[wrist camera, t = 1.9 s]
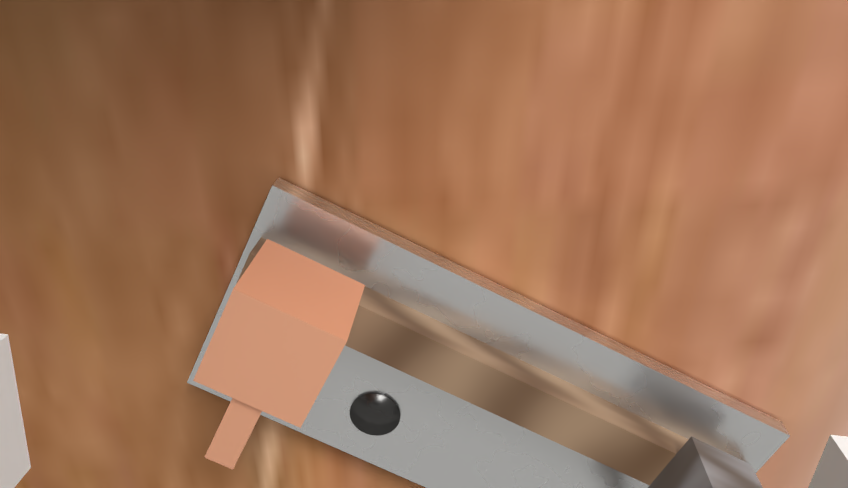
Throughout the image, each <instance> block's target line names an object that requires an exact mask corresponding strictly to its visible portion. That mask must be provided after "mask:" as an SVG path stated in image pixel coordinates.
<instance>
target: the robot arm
mask: <svg viewBox="0 0 848 488" xmlns="http://www.w3.org/2000/svg"><path fill="white" fill-rule="evenodd" d="M30 468H31V465H30V459H29V453H28V448H27V442H26V436H25V430H24V424H23V418H22V413H21V407H20V401H19V395H18V389H17V384H16V378H15V372H14V366H13V360H12V354H11V349H10V343H9V337H8V334H0V488H14V487H15V486H16V485H17V484H18V483H19V481H20V480H21V479H22V478H23V476H24V475H25V474H26V473H27V472H28V470H29V469H30ZM808 488H848V437H845V436H837V435H830V437H829V439H828V442H827V444H826V446H825V449H824V451H823V454H822V456H821V458H820V461H819V463H818V466H817V468H816V470H815V473H814V475H813V478H812V480H811V482H810V485H809V487H808Z"/></svg>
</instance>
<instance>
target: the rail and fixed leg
mask: <svg viewBox="0 0 848 488" xmlns="http://www.w3.org/2000/svg"><path fill="white" fill-rule="evenodd" d="M265 241H266V239H264V238H262V237H261V238H260V239H259V241H258V242H257V244H256V245H255V246H254V248H253V249H252V251H251V252H250V254H249V256H248V258H247V260H246V263H245V265H244V267H243V269H242V272H241V274H240V276H239V279H240V278H241V277H242V275H243V274H244V272H245V271H246V269H247V268H248V266H249V265H250V263H251V262H252V260H253V259H254V257H255V256H256V255H257V253H258V252H259V250H260V249H261V247H262V246H263V244H264V243H265ZM239 279H238V281H239ZM238 281H237V282H238ZM236 284H237V283H236ZM345 346H347V347H350V348H352V349H354V350H356V351H358V352H360V353H363V354H365V355H367V356H369V357H371V358H374V359H376V360H378V361H380V362H382V363H384V364H387V365H389V366H391V367H393V368H395V369H397V370H400V371H402V372H404V373H406V374H408V375H410V376H413V377H415V378H417V379H419V380H421V381H424V382H426V383H428V384H430V385H432V386H434V387H437V388H439V389H441V390H443V391H445V392H447V393H450V394H452V395H454V396H456V397H458V398H460V399H463V400H465V401H467V402H469V403H471V404H474V405H476V406H478V407H480V408H482V409H484V410H487V411H489V412H491V413H493V414H495V415H497V416H500V417H502V418H504V419H506V420H508V421H510V422H513V423H515V424H517V425H519V426H521V427H524V428H526V429H528V430H530V431H532V432H534V433H537V434H539V435H541V436H543V437H545V438H547V439H550V440H552V441H554V442H556V443H558V444H560V445H563V446H565V447H567V448H569V449H571V450H574V451H576V452H578V453H580V454H582V455H584V456H587V457H589V458H591V459H593V460H595V461H597V462H600V463H602V464H604V465H606V466H608V467H610V468H613V469H615V470H617V471H619V472H621V473H624V474H626V475H628V476H630V477H632V478H634V479H637V480H639V481H641V482H643V483H645V484H647V485H650V486H649V487H648V488H763V487H762V485H761V483H760V481H759V479H758V477H757V475H756V473H755V471H754V470H753V468H752V466H751V464H749V463H747V462H745V461H743V460H740V459H738V458H736V457H734V456H732V455H730V454H728V453H726V452H724V451H721V450H719V449H717V448H715V447H713V446H711V445H709V444H707V443H705V442H702V441H700V440H698V439H696V438H694V437H692V436H691V437H690V438H689V439H687V438H685V437H683V436H681V435H679V434H677V433H674V432H672V431H670V430H668V429H666V428H664V427H662V426H660V425H658V424H655V423H653V422H651V421H649V420H647V419H645V418H643V417H641V416H639V415H636V414H634V413H632V412H630V411H628V410H626V409H624V408H622V407H620V406H617V405H615V404H613V403H611V402H609V401H607V400H605V399H603V398H600V397H598V396H596V395H594V394H592V393H590V392H588V391H586V390H584V389H581V388H579V387H577V386H575V385H573V384H571V383H569V382H567V381H565V380H562V379H560V378H558V377H556V376H554V375H552V374H550V373H548V372H546V371H543V370H541V369H539V368H537V367H535V366H533V365H531V364H529V363H526V362H524V361H522V360H520V359H518V358H516V357H514V356H512V355H510V354H507V353H505V352H503V351H501V350H499V349H497V348H495V347H493V346H491V345H488V344H486V343H484V342H482V341H480V340H478V339H476V338H474V337H472V336H469V335H467V334H465V333H463V332H461V331H459V330H457V329H455V328H452V327H450V326H448V325H446V324H444V323H442V322H440V321H438V320H436V319H433V318H431V317H429V316H427V315H425V314H423V313H421V312H419V311H417V310H414V309H412V308H410V307H408V306H406V305H404V304H402V303H400V302H398V301H395V300H393V299H391V298H389V297H387V296H385V295H383V294H381V293H378V292H376V291H374V290H372V289H370V288H368V287H366V286H365V287H364V290H363V293H362V296H361V300H360V303H359V306H358V309H357V312H356V315H355V318H354V321H353V324H352V328H351V331H350V334H349V337H348V340H347V342H346V344H345Z"/></svg>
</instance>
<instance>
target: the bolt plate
mask: <svg viewBox="0 0 848 488" xmlns="http://www.w3.org/2000/svg"><path fill="white" fill-rule="evenodd" d="M261 237H262V238H264V239H266V240H267V239H269V240H271V241H273V242H275V243H277V244H280V245H282V246H284V247H286V248H288V249H290V250H292V251H294V252H296V253H299V254H301V255H303V256H305V257H307V258H309V259H311V260H313V261H315V262H318V263H320V264H322V265H324V266H326V267H328V268H330V269H332V270H334V271H337V272H339V273H341V274H343V275H345V276H347V277H349V278H351V279H354V280H356V281H358V282H360V283H362V284H364V285H365V286H366V287H368V288H370V289H372V290H374V291H376V292H378V293H381V294H383V295H385V296H387V297H389V298H391V299H393V300H395V301H398V302H400V303H402V304H404V305H406V306H408V307H410V308H412V309H414V310H417V311H419V312H421V313H423V314H425V315H427V316H429V317H431V318H433V319H436V320H438V321H440V322H442V323H444V324H446V325H448V326H450V327H452V328H455V329H457V330H459V331H461V332H463V333H465V334H467V335H469V336H472V337H474V338H476V339H478V340H480V341H482V342H484V343H486V344H488V345H491V346H493V347H495V348H497V349H499V350H501V351H503V352H505V353H507V354H510V355H512V356H514V357H516V358H518V359H520V360H522V361H524V362H526V363H529V364H531V365H533V366H535V367H537V368H539V369H541V370H543V371H546V372H548V373H550V374H552V375H554V376H556V377H558V378H560V379H562V380H565V381H567V382H569V383H571V384H573V385H575V386H577V387H579V388H581V389H584V390H586V391H588V392H590V393H592V394H594V395H596V396H598V397H600V398H603V399H605V400H607V401H609V402H611V403H613V404H615V405H617V406H620V407H622V408H624V409H626V410H628V411H630V412H632V413H634V414H636V415H639V416H641V417H643V418H645V419H647V420H649V421H651V422H653V423H655V424H658V425H660V426H662V427H664V428H666V429H668V430H670V431H672V432H674V433H677V434H679V435H681V436H683V437H685V438H687V439H689V438H690V437H691V436H692V437H694V438H696V439H698V440H700V441H702V442H705V443H707V444H709V445H711V446H713V447H715V448H717V449H719V450H721V451H724V452H726V453H728V454H730V455H732V456H734V457H736V458H738V459H740V460H743V461H745V462H747V463H749V464H751V466H752V468H753V470H754V471H755V473H756V472H757V471H758V470H759V469H760V468H761V467H762V466H763V465H764V464H765V462H766V461H767V460H768V459H769V458H770V457H771V456H772V455H773V454H774V453H775V452H776V451H777V450H778V448H779V447H780V446H781V445H782V444H783V443H784V442H785V441H786V440H787V439H788V438H789V437H790V435H789V433H788V431H787V430H786V428H785V427H784V425H783V423H782V422H781V421H779V420H777V419H775V418H773V417H771V416H769V415H767V414H765V413H763V412H761V411H759V410H757V409H755V408H753V407H750V406H748V405H746V404H744V403H742V402H740V401H738V400H736V399H734V398H732V397H730V396H728V395H726V394H724V393H722V392H720V391H718V390H715V389H713V388H711V387H709V386H707V385H705V384H703V383H701V382H699V381H697V380H695V379H693V378H691V377H689V376H687V375H685V374H683V373H680V372H678V371H676V370H674V369H672V368H670V367H668V366H666V365H664V364H662V363H660V362H658V361H656V360H654V359H652V358H650V357H648V356H645V355H643V354H641V353H639V352H637V351H635V350H633V349H631V348H629V347H627V346H625V345H623V344H621V343H619V342H617V341H615V340H613V339H610V338H608V337H606V336H604V335H602V334H600V333H598V332H596V331H594V330H592V329H590V328H588V327H586V326H584V325H582V324H580V323H578V322H575V321H573V320H571V319H569V318H567V317H565V316H563V315H561V314H559V313H557V312H555V311H553V310H551V309H549V308H547V307H545V306H543V305H540V304H538V303H536V302H534V301H532V300H530V299H528V298H526V297H524V296H522V295H520V294H518V293H516V292H514V291H512V290H510V289H508V288H505V287H503V286H501V285H499V284H497V283H495V282H493V281H491V280H489V279H487V278H485V277H483V276H481V275H479V274H477V273H475V272H473V271H470V270H468V269H466V268H464V267H462V266H460V265H458V264H456V263H454V262H452V261H450V260H448V259H446V258H444V257H442V256H440V255H438V254H435V253H433V252H431V251H429V250H427V249H425V248H423V247H421V246H419V245H417V244H415V243H413V242H411V241H409V240H407V239H405V238H403V237H400V236H398V235H396V234H394V233H392V232H390V231H388V230H386V229H384V228H382V227H380V226H378V225H376V224H374V223H372V222H370V221H368V220H365V219H363V218H361V217H359V216H357V215H355V214H353V213H351V212H349V211H347V210H345V209H343V208H341V207H339V206H337V205H335V204H333V203H331V202H328V201H326V200H324V199H322V198H320V197H318V196H316V195H314V194H312V193H310V192H308V191H306V190H304V189H302V188H300V187H298V186H296V185H293V184H291V183H289V182H287V181H285V180H283V179H281V178H278V179H277V180H276V181H275V183H274V184H273V185H272V187H271V190H270V192H269V194H268V197H267V199H266V201H265V203H264V206H263V208H262V210H261V213H260V215H259V217H258V220H257V222H256V224H255V227H254V229H253V231H252V234H251V236H250V238H249V240H248V243H247V245H246V247H245V250H244V252H243V254H242V257H241V259H240V261H239V264H238V266H237V268H236V270H235V273H234V275H233V277H232V280H231V282H230V284H229V287H228V289H227V291H226V294H225V296H224V298H223V300H222V303H221V305H220V307H219V310H218V312H217V314H216V317H215V319H214V321H213V324H212V326H211V328H210V331H209V333H208V335H207V337H206V340H205V342H204V344H203V347H202V349H201V351H200V354H199V356H198V358H197V361H196V363H195V365H194V367H193V370H192V372H191V374H190V377H189V379H188V381H187V383H189V384H192V385H194V386H196V387H198V388H201V389H203V390H205V391H207V392H210V393H212V394H214V395H217V396H219V397H221V398H223V399H226V400H228V401H230V402H231V400H232V398H231V397H229V396H227V395H225V394H222V393H220V392H218V391H215V390H213V389H211V388H209V387H206V386H204V385H202V384H200V383H197V382H195V381H193V380H194V377H195V375H196V373H197V370H198V368H199V366H200V364H201V361H202V359H203V357H204V354H205V352H206V350H207V347H208V345H209V343H210V341H211V338H212V336H213V334H214V331H215V329H216V327H217V325H218V322H219V320H220V318H221V315H222V313H223V311H224V309H225V306H226V304H227V302H228V299H229V297H230V295H231V293H232V290H233V288H234V287H235V285H236V283H237V281H238V279H239V276H240V274H241V272H242V269H243V267H244V265H245V263H246V260H247V258H248V256H249V254H250V252H251V251H252V249H253V248H254V246H255V245H256V244H257V242H258V241H259V239H260V238H261ZM260 415H262V416H264V417H267V418H269V419H271V420H273V421H276V422H278V423H280V424H283V425H285V426H287V427H289V428H292V429H294V430H296V431H298V432H301V433H303V434H305V435H308V436H310V437H312V438H314V439H317V440H319V441H321V442H323V443H326V444H328V445H330V446H333V447H335V448H337V449H339V450H342V451H344V452H346V453H348V454H351V455H353V456H355V457H358V458H360V459H362V460H364V461H367V462H369V463H371V464H374V465H376V466H378V467H380V468H383V469H385V470H387V471H389V472H392V473H394V474H396V475H399V476H401V477H403V478H405V479H408V480H410V481H412V482H414V483H417V484H419V485H421V486H424V487H426V488H648V487H649V486H650V485H647V484H645V483H643V482H641V481H639V480H637V479H634V478H632V477H630V476H628V475H626V474H624V473H621V472H619V471H617V470H615V469H613V468H610V467H608V466H606V465H604V464H602V463H600V462H597V461H595V460H593V459H591V458H589V457H587V456H584V455H582V454H580V453H578V452H576V451H574V450H571V449H569V448H567V447H565V446H563V445H560V444H558V443H556V442H554V441H552V440H550V439H547V438H545V437H543V436H541V435H539V434H537V433H534V432H532V431H530V430H528V429H526V428H524V427H521V426H519V425H517V424H515V423H513V422H510V421H508V420H506V419H504V418H502V417H500V416H497V415H495V414H493V413H491V412H489V411H487V410H484V409H482V408H480V407H478V406H476V405H474V404H471V403H469V402H467V401H465V400H463V399H460V398H458V397H456V396H454V395H452V394H450V393H447V392H445V391H443V390H441V389H439V388H437V387H434V386H432V385H430V384H428V383H426V382H424V381H421V380H419V379H417V378H415V377H413V376H410V375H408V374H406V373H404V372H402V371H400V370H397V369H395V368H393V367H391V366H389V365H387V364H384V363H382V362H380V361H378V360H376V359H374V358H371V357H369V356H367V355H365V354H363V353H360V352H358V351H356V350H354V349H352V348H350V347H347V346H344V348H343V350H342V352H341V354H340V355H339V357H338V359H337V361H336V363H335V365H334V367H333V369H332V370H331V372H330V374H329V376H328V378H327V380H326V382H325V383H324V385H323V387H322V389H321V391H320V393H319V395H318V396H317V398H316V400H315V402H314V404H313V406H312V408H311V410H310V411H309V413H308V415H307V417H306V419H305V421H304V423H303V424H302V426H301V428H299V427H297V426H295V425H293V424H290V423H288V422H286V421H284V420H281V419H279V418H277V417H274V416H272V415H270V414H268V413H265V412H263V411H262V412H261V414H260Z"/></svg>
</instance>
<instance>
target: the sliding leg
mask: <svg viewBox="0 0 848 488" xmlns="http://www.w3.org/2000/svg"><path fill="white" fill-rule="evenodd" d="M364 287H365V285H364V284H362V283H360V282H358V281H356V280H354V279H351V278H349V277H347V276H345V275H343V274H341V273H339V272H337V271H334V270H332V269H330V268H328V267H326V266H324V265H322V264H320V263H318V262H315V261H313V260H311V259H309V258H307V257H305V256H303V255H301V254H299V253H296V252H294V251H292V250H290V249H288V248H286V247H284V246H282V245H280V244H277V243H275V242H273V241H271V240H269V239H267V240H266V241H265V243H264V244H263V246H262V247H261V249H260V250H259V252H258V253H257V255H256V256H255V257H254V259H253V260H252V262H251V263H250V265H249V266H248V268H247V269H246V271H245V272H244V274H243V275H242V277H241V278H240V279H239V281H238V282H237V284H236V285H235V287H234V288H233V290H232V293H231V295H230V297H229V299H228V302H227V304H226V306H225V309H224V311H223V313H222V315H221V318H220V320H219V322H218V325H217V327H216V329H215V331H214V334H213V336H212V338H211V341H210V343H209V345H208V347H207V350H206V352H205V354H204V357H203V359H202V361H201V364H200V366H199V368H198V370H197V373H196V375H195V377H194V380H193V381H195V382H197V383H200V384H202V385H204V386H206V387H209V388H211V389H213V390H215V391H218V392H220V393H222V394H225V395H227V396H229V397H231V398H232V400H231V402H230V404H229V406H228V408H227V411H226V413H225V415H224V417H223V419H222V421H221V423H220V425H219V427H218V430H217V432H216V434H215V436H214V438H213V440H212V442H211V444H210V446H209V449H208V451H207V453H206V455H205V458H207V459H209V460H212V461H214V462H216V463H219V464H221V465H223V466H226V467H228V468H230V469H233V468H234V466H235V464H236V462H237V460H238V458H239V456H240V454H241V452H242V450H243V448H244V446H245V444H246V442H247V440H248V438H249V436H250V434H251V432H252V430H253V428H254V426H255V424H256V422H257V420H258V418H259V416H260V414H261V412H262V411H263V412H265V413H268V414H270V415H272V416H274V417H277V418H279V419H281V420H284V421H286V422H288V423H290V424H293V425H295V426H297V427H299V428H301V426H302V424H303V423H304V421H305V419H306V417H307V415H308V413H309V411H310V410H311V408H312V406H313V404H314V402H315V400H316V398H317V396H318V395H319V393H320V391H321V389H322V387H323V385H324V383H325V382H326V380H327V378H328V376H329V374H330V372H331V370H332V369H333V367H334V365H335V363H336V361H337V359H338V357H339V355H340V354H341V352H342V350H343V348H344V346H345V344H346V342H347V340H348V337H349V334H350V331H351V328H352V324H353V321H354V318H355V315H356V312H357V309H358V306H359V303H360V300H361V296H362V293H363V290H364Z"/></svg>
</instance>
